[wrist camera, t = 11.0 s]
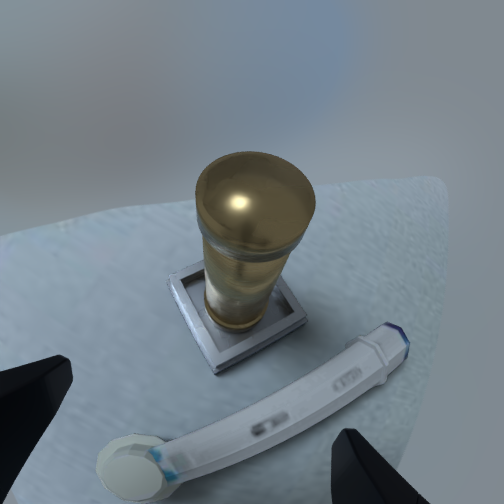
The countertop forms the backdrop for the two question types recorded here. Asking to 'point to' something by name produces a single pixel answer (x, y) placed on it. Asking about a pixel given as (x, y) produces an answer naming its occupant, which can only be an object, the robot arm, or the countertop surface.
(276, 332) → the shallow square tray
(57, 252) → the countertop surface
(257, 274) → the brass domed cylinder
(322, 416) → the white long piece
